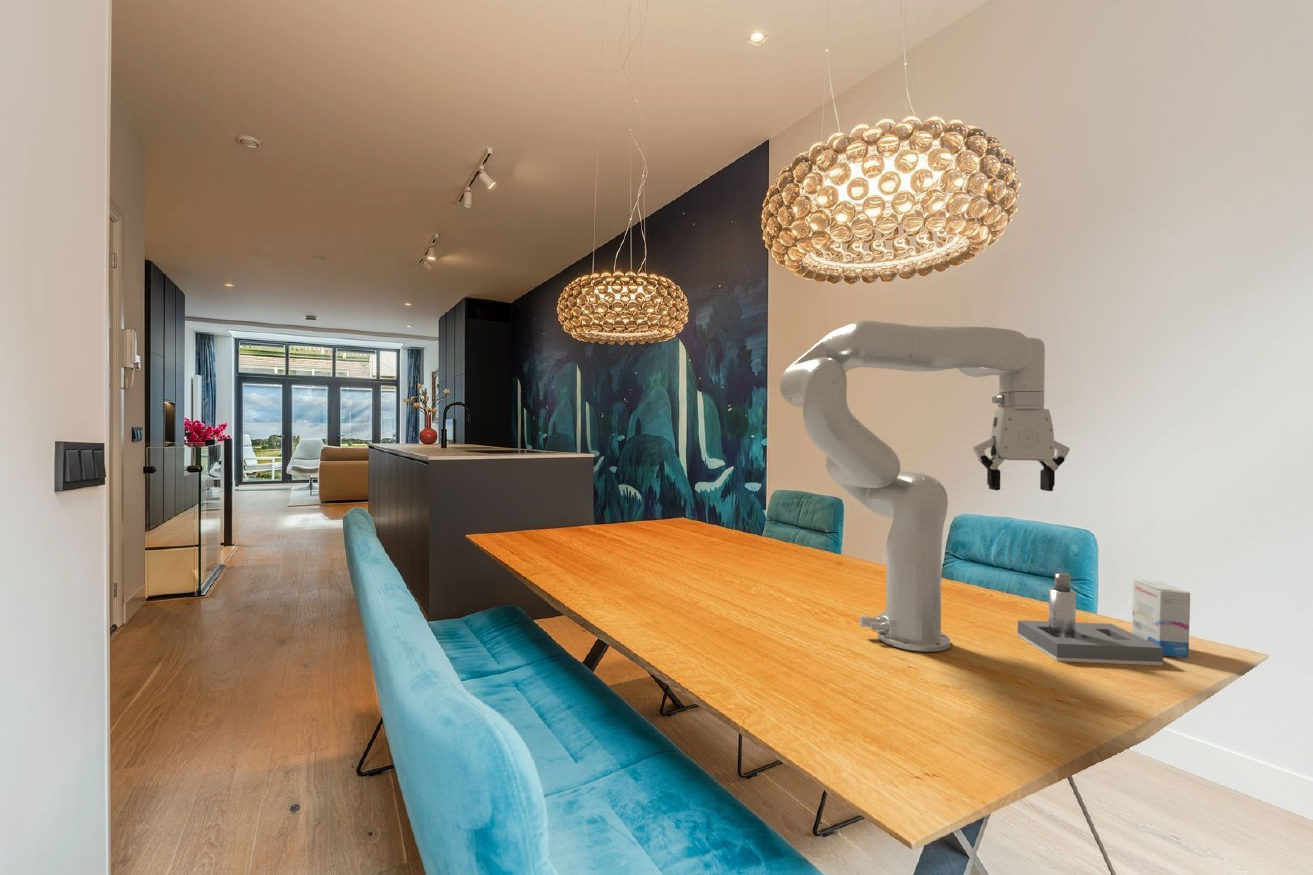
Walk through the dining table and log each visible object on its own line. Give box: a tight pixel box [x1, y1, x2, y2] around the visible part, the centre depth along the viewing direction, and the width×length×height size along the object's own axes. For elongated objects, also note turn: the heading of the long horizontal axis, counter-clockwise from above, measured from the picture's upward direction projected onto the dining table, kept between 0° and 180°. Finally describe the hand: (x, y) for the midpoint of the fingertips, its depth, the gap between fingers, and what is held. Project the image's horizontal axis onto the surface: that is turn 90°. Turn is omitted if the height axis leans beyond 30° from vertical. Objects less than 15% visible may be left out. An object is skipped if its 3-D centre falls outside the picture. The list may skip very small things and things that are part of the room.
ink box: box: [1131, 579, 1191, 659], centre depth 108 cm, size 9×5×12 cm, turn 168°
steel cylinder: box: [1048, 572, 1077, 638], centre depth 107 cm, size 4×4×13 cm
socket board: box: [1017, 620, 1164, 666], centre depth 107 cm, size 17×13×3 cm
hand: (1020, 490), depth 115 cm, fingers open, 9 cm apart
